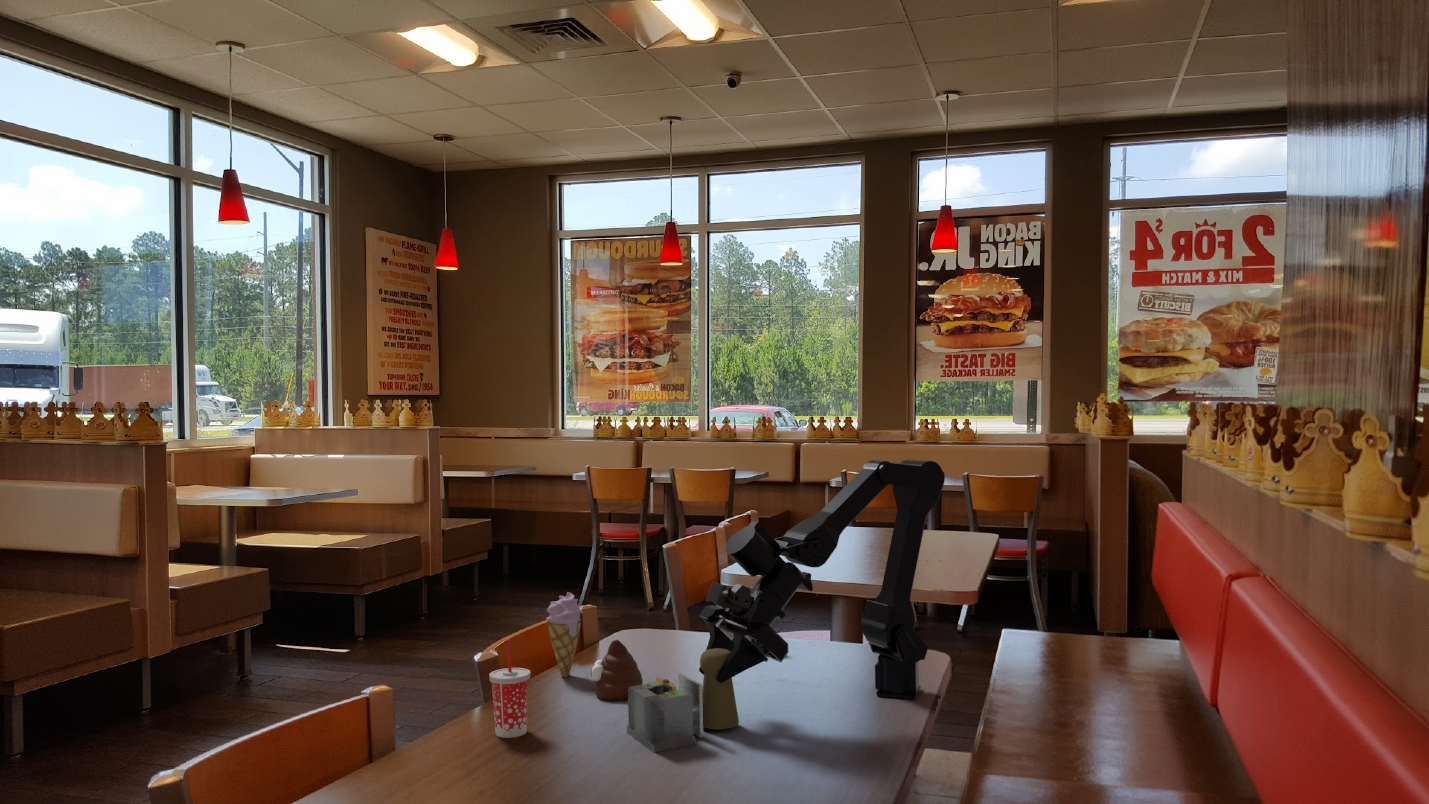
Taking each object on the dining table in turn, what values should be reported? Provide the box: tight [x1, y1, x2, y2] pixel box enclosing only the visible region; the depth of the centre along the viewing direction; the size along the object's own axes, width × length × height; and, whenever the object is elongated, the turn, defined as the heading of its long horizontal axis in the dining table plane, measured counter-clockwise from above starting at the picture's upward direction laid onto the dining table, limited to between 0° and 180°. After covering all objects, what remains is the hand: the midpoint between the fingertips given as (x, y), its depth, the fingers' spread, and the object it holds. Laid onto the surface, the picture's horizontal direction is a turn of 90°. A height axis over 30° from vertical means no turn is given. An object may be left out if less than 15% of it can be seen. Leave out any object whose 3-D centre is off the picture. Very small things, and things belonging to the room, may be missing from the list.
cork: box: [699, 648, 740, 730], centre depth 150 cm, size 6×6×11 cm
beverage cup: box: [488, 638, 531, 739], centre depth 149 cm, size 6×6×14 cm
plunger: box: [655, 672, 704, 738], centre depth 147 cm, size 4×7×8 cm, turn 28°
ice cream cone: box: [545, 591, 584, 678], centre depth 180 cm, size 7×6×15 cm
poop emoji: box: [590, 639, 644, 702], centre depth 169 cm, size 10×8×9 cm
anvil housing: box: [626, 680, 697, 753], centre depth 145 cm, size 6×10×7 cm, turn 28°
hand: (709, 677), depth 149 cm, fingers closed on cork, 5 cm apart
